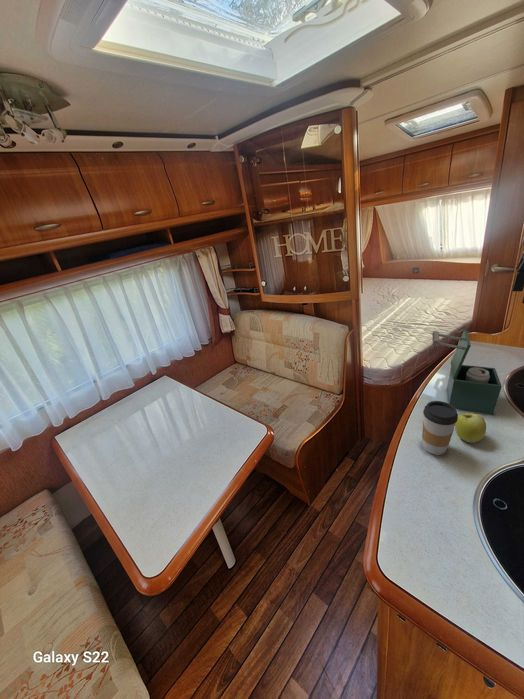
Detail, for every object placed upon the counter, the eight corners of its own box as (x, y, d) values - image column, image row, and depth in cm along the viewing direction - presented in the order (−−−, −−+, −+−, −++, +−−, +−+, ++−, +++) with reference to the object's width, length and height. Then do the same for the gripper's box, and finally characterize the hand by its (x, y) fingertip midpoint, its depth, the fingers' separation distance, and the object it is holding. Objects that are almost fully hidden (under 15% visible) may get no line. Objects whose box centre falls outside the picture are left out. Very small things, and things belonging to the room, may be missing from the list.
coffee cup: (419, 434, 88) (424, 397, 82) (449, 441, 84) (458, 403, 78) (417, 453, 82) (423, 414, 76) (450, 461, 78) (460, 422, 71)
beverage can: (487, 404, 95) (495, 376, 89) (466, 405, 96) (473, 376, 91) (477, 393, 100) (484, 366, 95) (457, 394, 101) (463, 366, 96)
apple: (494, 443, 80) (490, 418, 76) (464, 449, 83) (458, 425, 79) (479, 425, 87) (475, 401, 83) (452, 430, 89) (446, 408, 86)
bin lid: (466, 330, 93) (434, 324, 97) (470, 345, 85) (435, 338, 89) (453, 362, 100) (423, 356, 104) (455, 379, 91) (422, 371, 95)
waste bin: (487, 395, 100) (495, 368, 95) (493, 415, 91) (501, 386, 86) (446, 389, 106) (451, 363, 101) (448, 407, 97) (453, 380, 92)
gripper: (574, 235, 74) (549, 309, 83) (544, 225, 92) (526, 286, 102) (537, 237, 77) (516, 308, 86) (515, 228, 96) (500, 286, 105)
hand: (522, 296), depth 94 cm, fingers open, 13 cm apart
